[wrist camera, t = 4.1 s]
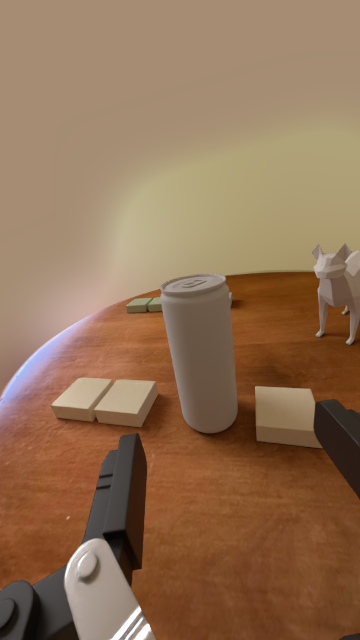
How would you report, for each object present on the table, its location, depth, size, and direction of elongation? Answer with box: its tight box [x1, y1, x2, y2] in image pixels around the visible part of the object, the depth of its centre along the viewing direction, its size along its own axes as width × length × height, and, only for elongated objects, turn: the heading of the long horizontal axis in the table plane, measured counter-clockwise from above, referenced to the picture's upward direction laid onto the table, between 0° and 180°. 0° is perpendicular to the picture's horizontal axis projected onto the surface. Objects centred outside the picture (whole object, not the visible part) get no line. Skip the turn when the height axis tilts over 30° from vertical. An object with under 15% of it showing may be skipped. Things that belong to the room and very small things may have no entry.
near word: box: [51, 378, 323, 448], centre depth 22 cm, size 23×4×2 cm, turn 74°
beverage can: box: [160, 274, 238, 433], centre depth 19 cm, size 5×5×12 cm
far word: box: [126, 292, 233, 313], centre depth 48 cm, size 21×6×2 cm, turn 74°
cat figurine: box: [312, 244, 360, 345], centre depth 29 cm, size 4×20×14 cm, turn 129°
